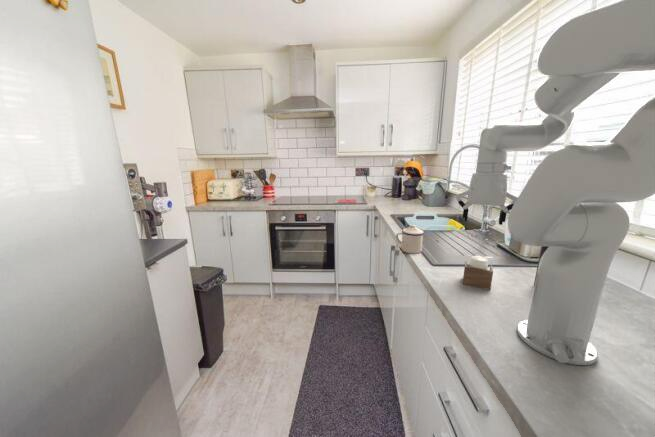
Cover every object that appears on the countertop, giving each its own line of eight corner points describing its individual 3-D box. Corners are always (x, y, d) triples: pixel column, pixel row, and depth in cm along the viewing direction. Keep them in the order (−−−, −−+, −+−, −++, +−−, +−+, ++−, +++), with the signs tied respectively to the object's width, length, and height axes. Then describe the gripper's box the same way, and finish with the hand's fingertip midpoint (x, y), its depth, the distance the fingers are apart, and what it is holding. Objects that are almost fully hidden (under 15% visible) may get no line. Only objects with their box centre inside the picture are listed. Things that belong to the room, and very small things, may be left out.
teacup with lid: (424, 249, 109) (427, 224, 106) (418, 255, 102) (420, 229, 99) (399, 244, 116) (400, 220, 113) (391, 249, 109) (392, 224, 106)
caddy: (490, 289, 74) (493, 271, 73) (462, 284, 78) (465, 266, 76) (489, 282, 78) (491, 265, 77) (463, 277, 82) (465, 261, 80)
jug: (485, 286, 76) (489, 263, 74) (467, 283, 78) (470, 260, 76) (484, 276, 82) (487, 254, 80) (467, 273, 85) (470, 252, 83)
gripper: (523, 168, 74) (513, 222, 78) (459, 168, 82) (453, 216, 86) (527, 169, 68) (517, 228, 72) (458, 169, 76) (452, 221, 80)
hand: (482, 222), depth 79 cm, fingers open, 9 cm apart
